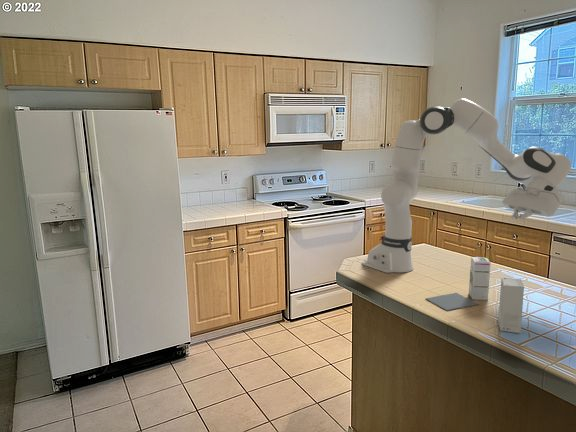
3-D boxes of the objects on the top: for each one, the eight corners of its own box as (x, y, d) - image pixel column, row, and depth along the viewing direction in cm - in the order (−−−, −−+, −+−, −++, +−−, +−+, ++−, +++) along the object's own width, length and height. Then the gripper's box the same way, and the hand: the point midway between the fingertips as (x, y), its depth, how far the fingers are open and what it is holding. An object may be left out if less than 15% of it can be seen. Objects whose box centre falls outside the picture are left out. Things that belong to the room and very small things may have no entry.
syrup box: (488, 300, 156) (491, 261, 153) (470, 299, 157) (474, 261, 154) (484, 294, 162) (488, 257, 159) (467, 293, 163) (470, 256, 160)
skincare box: (520, 334, 131) (526, 287, 128) (498, 331, 133) (503, 285, 130) (517, 322, 139) (522, 278, 136) (496, 319, 141) (501, 276, 138)
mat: (425, 299, 158) (425, 298, 157) (456, 293, 163) (456, 292, 163) (446, 311, 148) (446, 309, 147) (478, 304, 153) (478, 303, 153)
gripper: (511, 182, 172) (491, 208, 171) (560, 189, 153) (537, 218, 152) (519, 192, 175) (498, 218, 173) (567, 200, 156) (545, 229, 154)
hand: (517, 218), depth 162 cm, fingers closed
